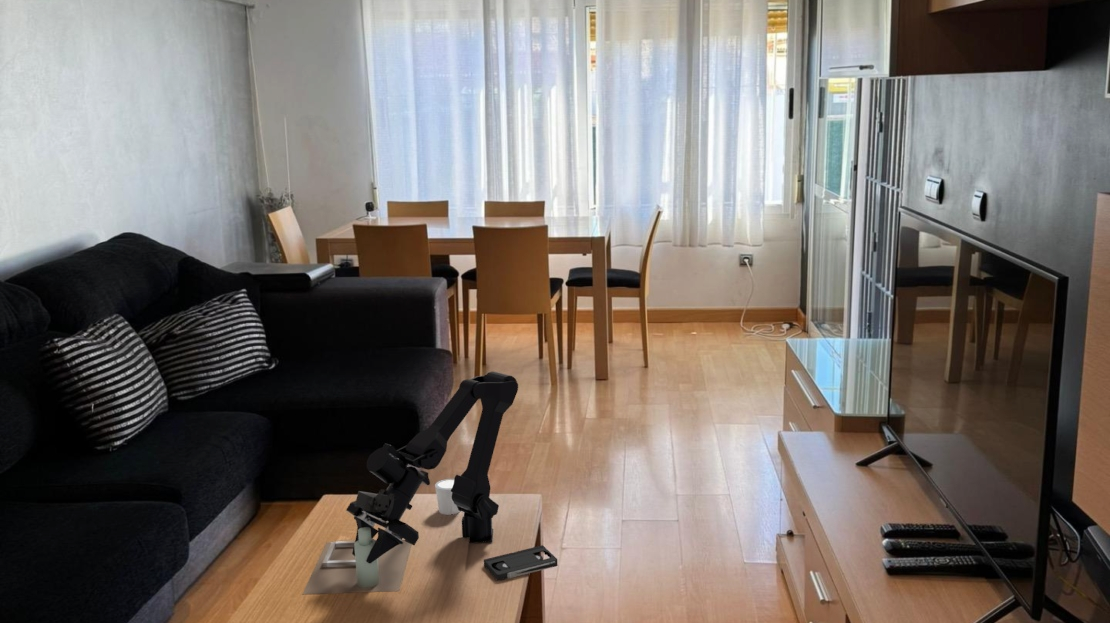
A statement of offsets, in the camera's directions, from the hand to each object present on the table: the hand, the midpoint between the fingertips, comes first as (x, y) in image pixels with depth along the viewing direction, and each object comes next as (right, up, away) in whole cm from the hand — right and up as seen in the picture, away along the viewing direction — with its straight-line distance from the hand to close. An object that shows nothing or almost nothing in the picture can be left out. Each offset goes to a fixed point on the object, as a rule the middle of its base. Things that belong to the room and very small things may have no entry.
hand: (360, 558), depth 206 cm
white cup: (+14, +2, +40) cm, 42 cm away
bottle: (+1, -6, +2) cm, 6 cm away
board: (-2, -5, +10) cm, 12 cm away
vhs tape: (+33, -5, +10) cm, 35 cm away
